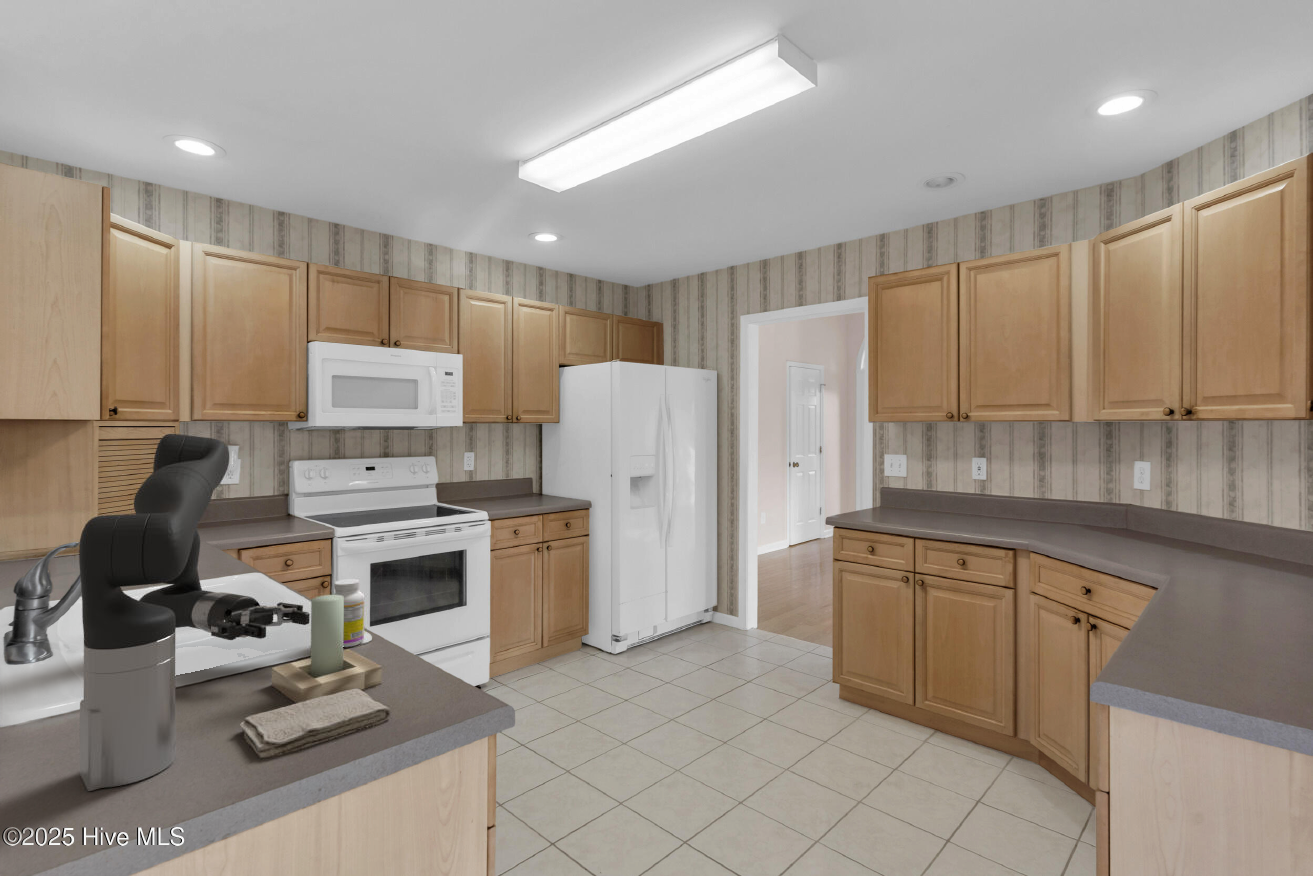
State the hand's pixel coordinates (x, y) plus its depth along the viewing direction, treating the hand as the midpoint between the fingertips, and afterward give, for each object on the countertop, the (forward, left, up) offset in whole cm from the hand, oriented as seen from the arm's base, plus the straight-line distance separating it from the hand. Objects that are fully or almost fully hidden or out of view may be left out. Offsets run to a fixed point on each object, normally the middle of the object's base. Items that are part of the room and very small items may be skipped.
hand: (286, 625), depth 115 cm
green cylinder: (+3, -9, -9) cm, 13 cm away
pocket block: (+3, -9, -9) cm, 13 cm away
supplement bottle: (+15, +9, -9) cm, 20 cm away
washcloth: (-4, -24, -10) cm, 26 cm away
